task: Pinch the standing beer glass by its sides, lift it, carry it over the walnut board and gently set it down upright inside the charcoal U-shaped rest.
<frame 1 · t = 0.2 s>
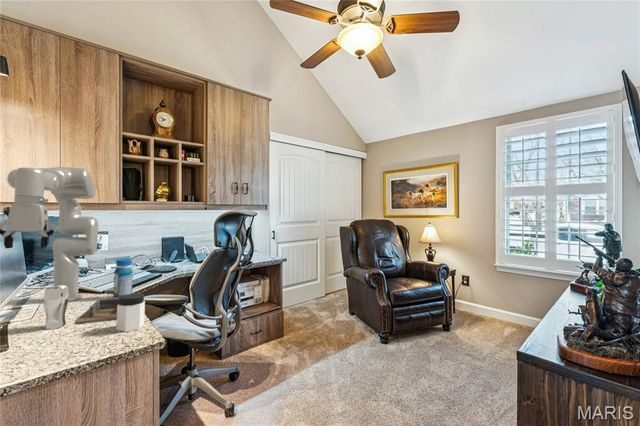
hand: (26, 247, 104), 30 cm above the table, tool pointing down, fingers open, 9 cm apart
beverage bottle: (122, 297, 150), on the table
jar: (130, 328, 109), on the table
u rest: (109, 313, 124), on the table
beer glass: (55, 327, 108), on the table
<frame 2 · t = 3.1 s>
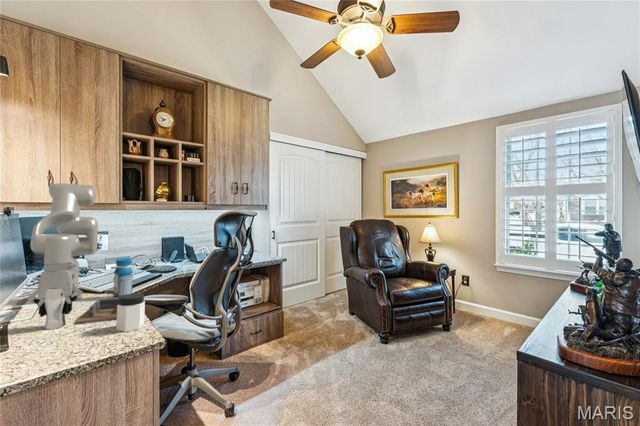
hand: (55, 314, 108), 5 cm above the table, tool pointing down, fingers closed on beer glass, 6 cm apart
beer glass: (55, 327, 108), on the table, touching gripper
everything else where it was.
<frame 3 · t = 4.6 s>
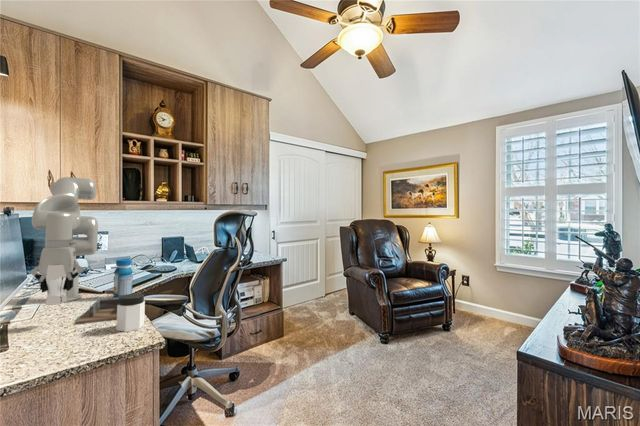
hand: (56, 290, 109), 14 cm above the table, tool pointing down, fingers closed on beer glass, 6 cm apart
beer glass: (56, 303, 109), point 9 cm above the table, touching gripper
everything else where it was.
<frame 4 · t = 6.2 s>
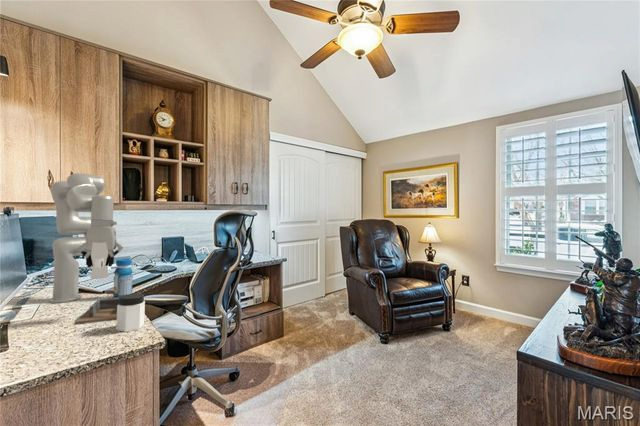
hand: (100, 266, 120), 21 cm above the table, tool pointing down, fingers closed on beer glass, 6 cm apart
beer glass: (99, 277, 120), point 16 cm above the table, touching gripper
everything else where it was.
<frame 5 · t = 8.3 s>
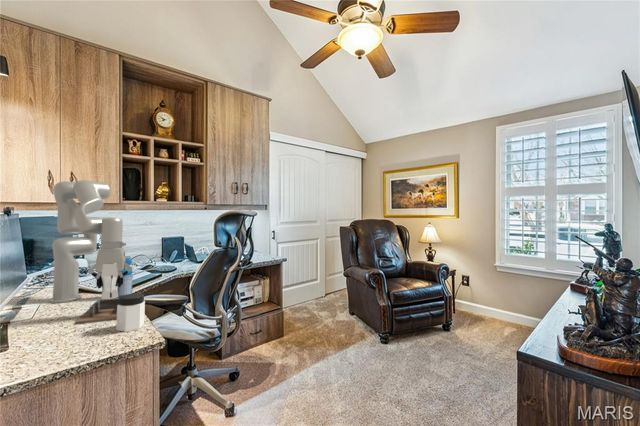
hand: (110, 286, 123), 12 cm above the table, tool pointing down, fingers closed on beer glass, 6 cm apart
beer glass: (109, 298, 123), point 7 cm above the table, touching gripper
everything else where it was.
when the fingers open (7 cm above the table, at t = 9.8 s): beer glass drops 2 cm, resting on u rest.
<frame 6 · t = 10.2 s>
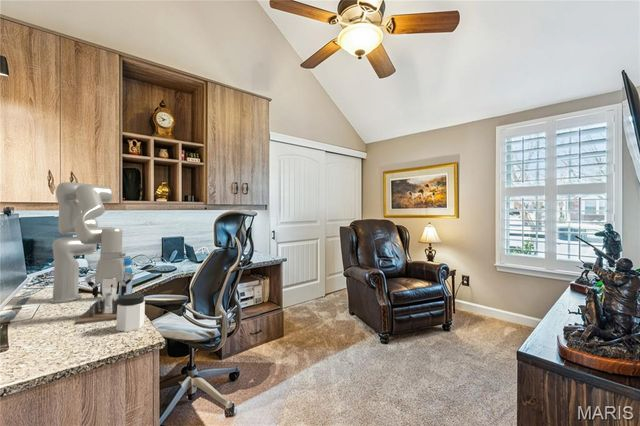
hand: (109, 295, 123), 8 cm above the table, tool pointing down, fingers open, 9 cm apart
beer glass: (109, 312, 123), point 1 cm above the table, touching u rest
everything else where it was.
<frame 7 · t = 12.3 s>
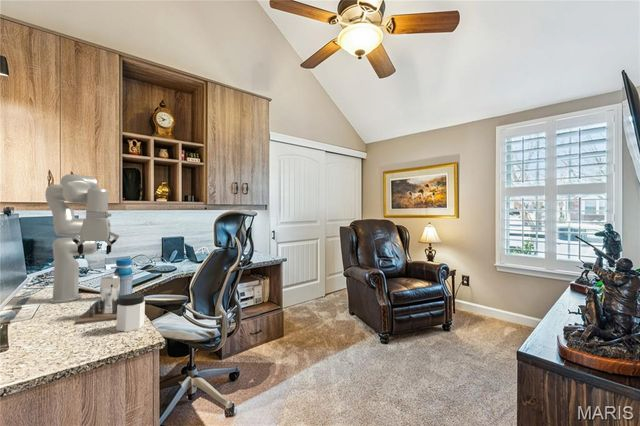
hand: (94, 254, 126), 26 cm above the table, tool pointing down, fingers open, 9 cm apart
nothing on the table moved.
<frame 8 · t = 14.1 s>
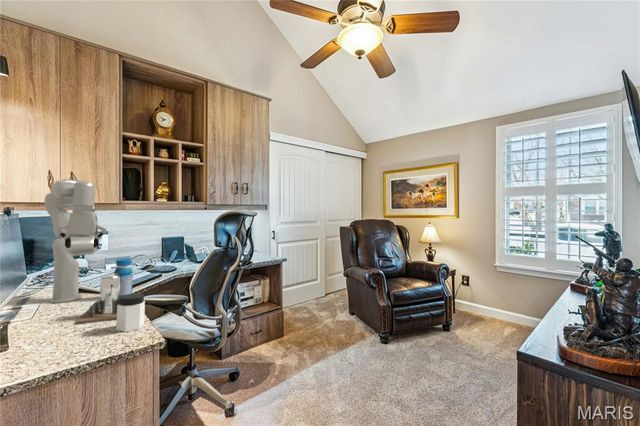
hand: (82, 247, 128), 28 cm above the table, tool pointing down, fingers open, 9 cm apart
nothing on the table moved.
at the end: beer glass 0.2 cm from the target spot on the u rest, point 0.8 cm above the u rest's base; beer glass tilted 0°; the gripper is holding nothing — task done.
